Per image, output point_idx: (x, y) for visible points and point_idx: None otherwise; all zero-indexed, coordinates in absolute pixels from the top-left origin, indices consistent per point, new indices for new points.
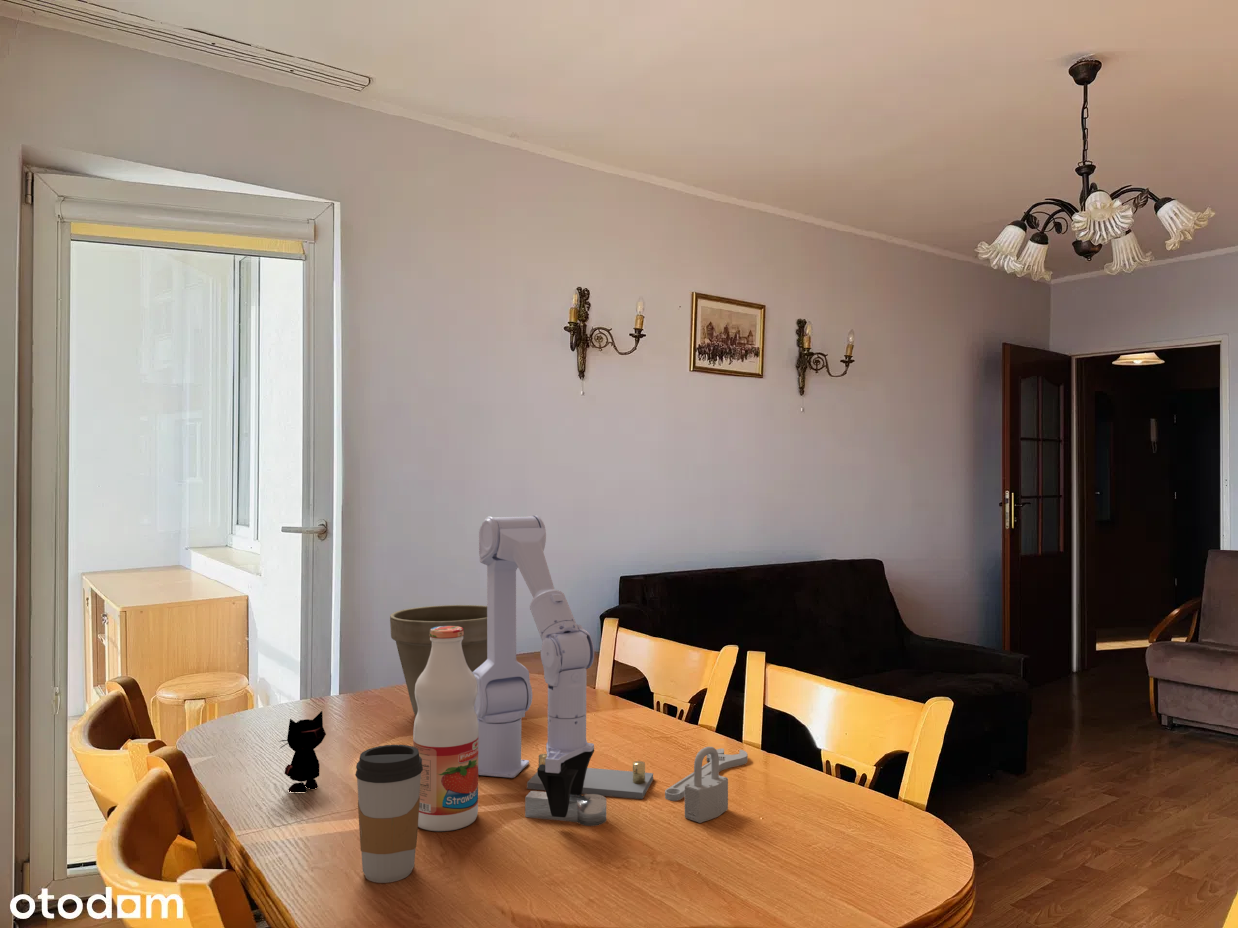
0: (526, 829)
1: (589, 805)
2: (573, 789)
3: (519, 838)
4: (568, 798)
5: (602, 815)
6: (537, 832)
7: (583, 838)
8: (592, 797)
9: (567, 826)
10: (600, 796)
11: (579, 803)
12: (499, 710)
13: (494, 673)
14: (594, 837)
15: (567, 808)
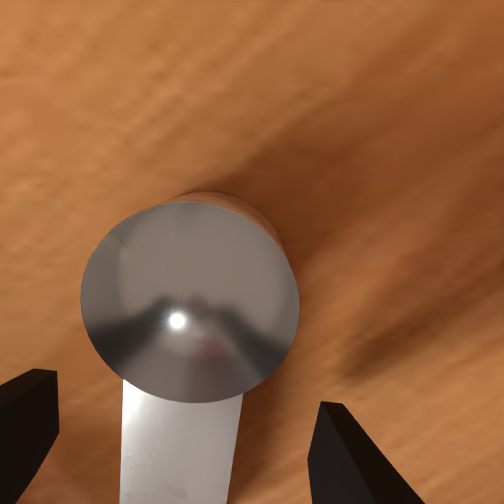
0: None
1: (299, 312)
2: (26, 437)
3: None
4: (406, 494)
5: (254, 212)
6: None
7: (430, 276)
8: (150, 310)
9: (299, 359)
10: (118, 256)
11: (266, 376)
12: None
13: None
14: (421, 227)
15: (359, 431)
